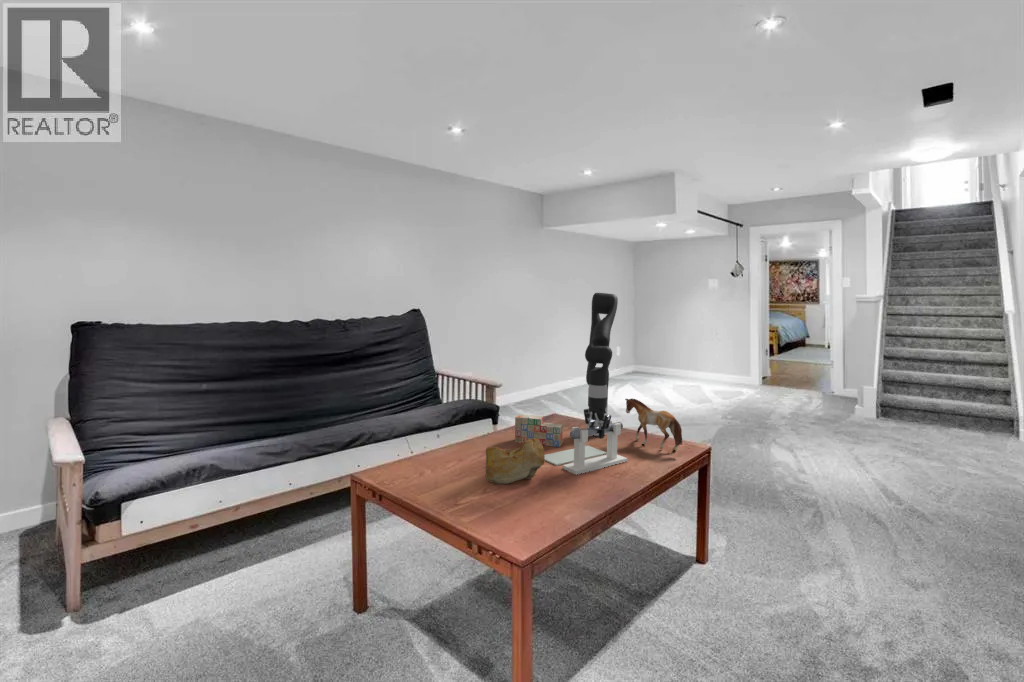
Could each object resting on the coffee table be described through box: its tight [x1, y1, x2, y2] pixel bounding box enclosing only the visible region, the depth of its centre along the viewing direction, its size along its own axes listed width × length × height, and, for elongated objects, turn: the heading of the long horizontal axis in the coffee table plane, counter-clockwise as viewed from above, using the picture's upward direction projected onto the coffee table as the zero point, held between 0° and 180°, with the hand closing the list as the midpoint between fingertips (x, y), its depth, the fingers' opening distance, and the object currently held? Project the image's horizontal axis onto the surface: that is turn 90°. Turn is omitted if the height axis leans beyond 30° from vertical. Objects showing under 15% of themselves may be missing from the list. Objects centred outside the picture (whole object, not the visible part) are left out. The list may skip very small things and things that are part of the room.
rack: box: [562, 419, 628, 476], centre depth 209 cm, size 8×28×16 cm, turn 124°
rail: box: [569, 421, 624, 440], centre depth 208 cm, size 26×3×3 cm, turn 124°
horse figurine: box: [624, 398, 683, 451], centre depth 234 cm, size 31×8×21 cm, turn 39°
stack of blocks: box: [514, 413, 564, 448], centre depth 239 cm, size 21×6×12 cm, turn 71°
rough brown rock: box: [485, 438, 545, 485], centre depth 196 cm, size 23×17×15 cm
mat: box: [544, 445, 607, 467], centre depth 222 cm, size 12×28×1 cm, turn 124°
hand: (596, 436), depth 209 cm, fingers open, 4 cm apart
